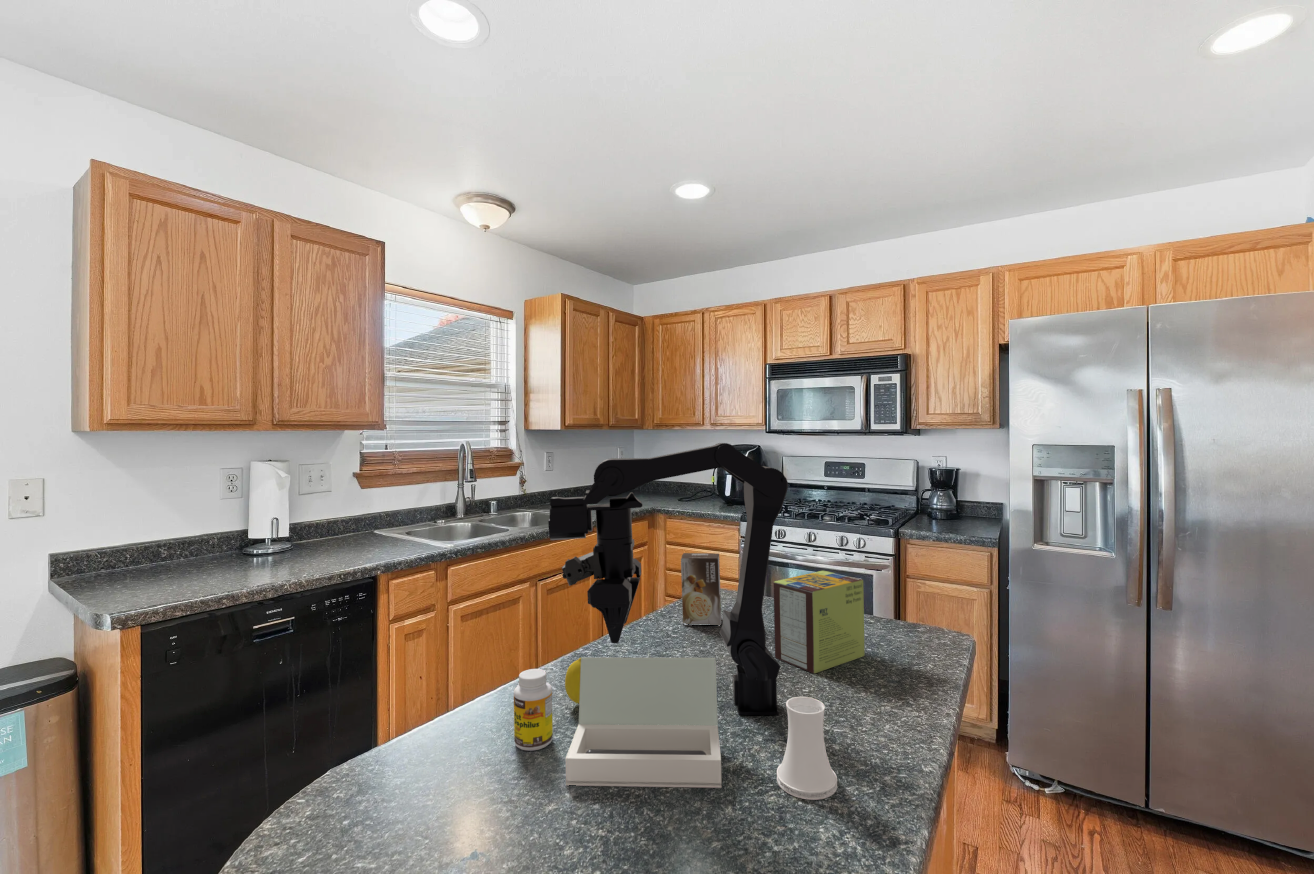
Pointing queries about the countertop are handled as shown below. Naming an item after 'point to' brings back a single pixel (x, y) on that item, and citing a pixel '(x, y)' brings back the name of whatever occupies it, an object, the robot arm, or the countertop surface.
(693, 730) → the cable duct
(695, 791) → the countertop surface
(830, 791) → the vase
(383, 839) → the countertop surface
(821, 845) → the countertop surface
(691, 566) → the coffee box
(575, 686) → the lemon
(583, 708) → the lid
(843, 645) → the protein box
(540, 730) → the supplement bottle
